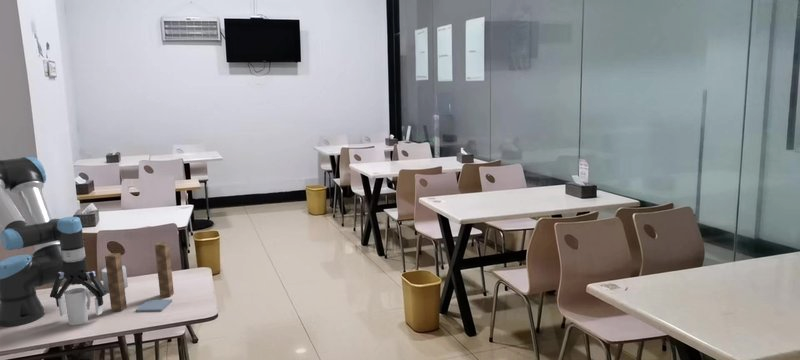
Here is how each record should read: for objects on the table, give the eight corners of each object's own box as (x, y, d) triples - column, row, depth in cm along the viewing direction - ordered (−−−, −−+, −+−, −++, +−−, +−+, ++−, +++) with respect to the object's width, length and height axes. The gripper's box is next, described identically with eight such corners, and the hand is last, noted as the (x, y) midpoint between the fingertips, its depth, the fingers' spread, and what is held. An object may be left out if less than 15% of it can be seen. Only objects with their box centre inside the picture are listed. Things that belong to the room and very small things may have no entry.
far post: (160, 297, 238) (154, 245, 234) (164, 293, 242) (159, 242, 238) (170, 296, 238) (164, 245, 234) (173, 293, 242) (168, 242, 238)
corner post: (111, 311, 225) (104, 256, 221) (116, 307, 229) (110, 253, 225) (121, 311, 225) (115, 256, 221) (126, 307, 228) (120, 253, 225)
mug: (79, 326, 211) (75, 295, 209) (63, 325, 213) (59, 293, 211) (99, 315, 221) (95, 285, 219) (84, 314, 223) (81, 284, 220)
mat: (135, 311, 223) (135, 309, 223) (147, 301, 233) (147, 300, 233) (161, 311, 223) (161, 309, 223) (172, 301, 233) (172, 299, 233)
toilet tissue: (124, 280, 260) (122, 261, 259) (128, 288, 249) (126, 269, 248) (102, 284, 256) (100, 265, 254) (105, 293, 244) (103, 273, 243)
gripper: (33, 263, 209) (42, 319, 213) (102, 261, 209) (109, 317, 212) (46, 257, 217) (54, 311, 220) (112, 255, 216) (119, 309, 220)
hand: (81, 314), depth 216 cm, fingers open, 13 cm apart
